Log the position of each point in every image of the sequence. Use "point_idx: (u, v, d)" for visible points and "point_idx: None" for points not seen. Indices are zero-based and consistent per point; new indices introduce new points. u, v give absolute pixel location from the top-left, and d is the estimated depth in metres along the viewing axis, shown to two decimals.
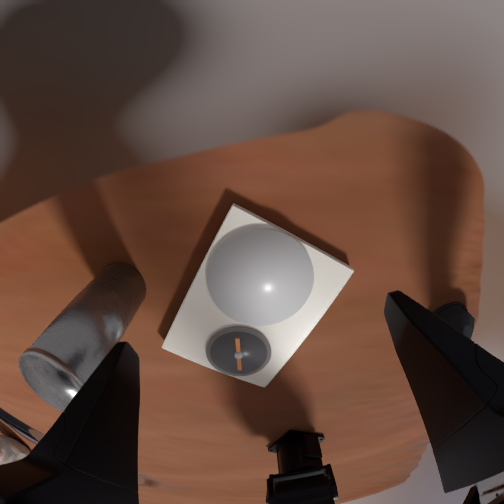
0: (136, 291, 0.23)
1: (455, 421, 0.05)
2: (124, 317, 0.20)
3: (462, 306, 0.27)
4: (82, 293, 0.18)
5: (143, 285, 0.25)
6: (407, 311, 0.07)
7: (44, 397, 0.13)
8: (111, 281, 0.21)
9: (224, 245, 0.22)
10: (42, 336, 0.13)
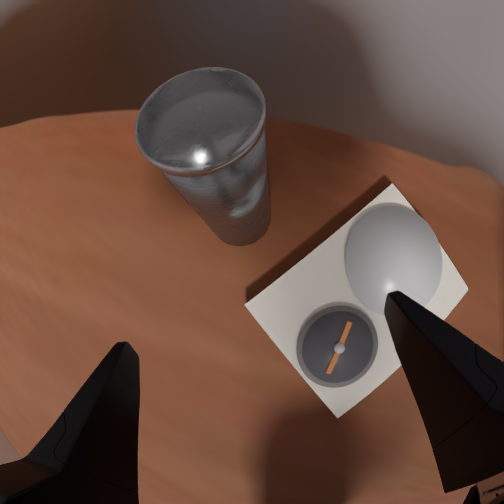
0: (269, 211, 0.21)
1: (455, 421, 0.05)
2: (266, 201, 0.17)
3: None
4: None
5: (269, 222, 0.23)
6: (407, 311, 0.07)
7: (147, 133, 0.10)
8: None
9: (378, 209, 0.21)
10: None
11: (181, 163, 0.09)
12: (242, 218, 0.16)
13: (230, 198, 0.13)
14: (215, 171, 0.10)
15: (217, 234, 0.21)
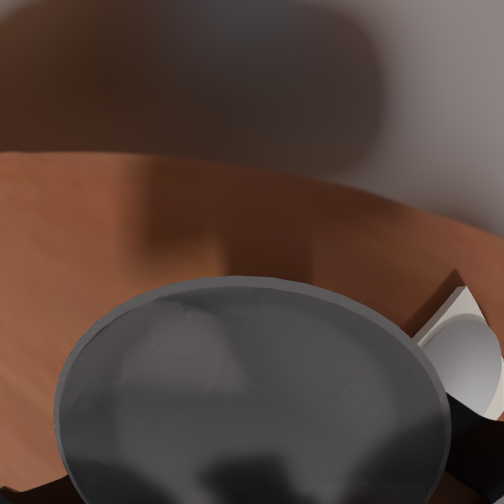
0: None
1: None
2: None
3: None
4: None
5: None
6: None
7: None
8: None
9: (449, 329, 0.14)
10: None
11: None
12: None
13: None
14: None
15: None
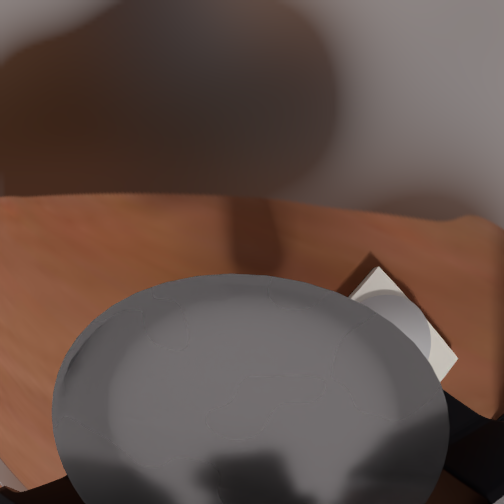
0: None
1: None
2: None
3: None
4: None
5: None
6: None
7: (105, 503, 0.02)
8: None
9: (362, 303, 0.20)
10: None
11: None
12: None
13: None
14: None
15: None
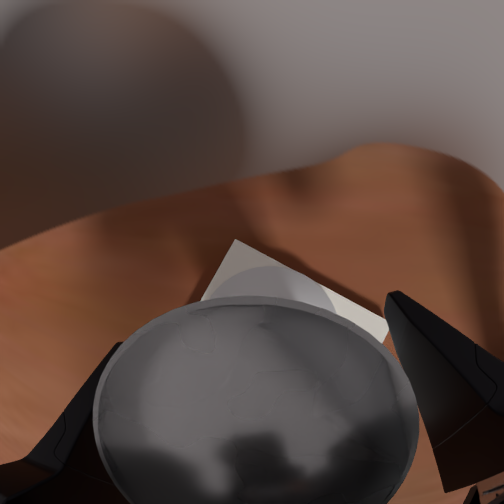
0: None
1: (455, 421, 0.05)
2: None
3: None
4: None
5: None
6: (407, 311, 0.07)
7: (137, 484, 0.03)
8: None
9: (222, 286, 0.18)
10: None
11: None
12: None
13: None
14: None
15: None
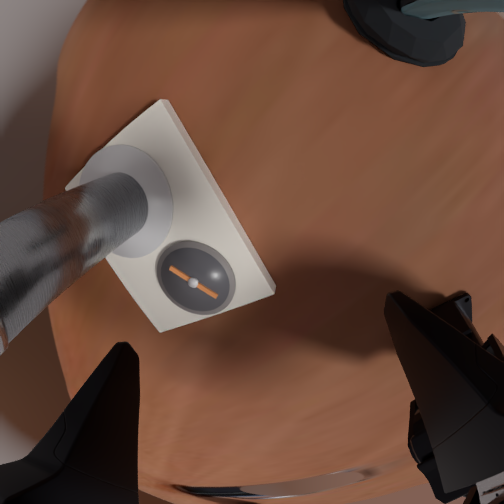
0: (117, 186, 0.16)
1: (455, 421, 0.05)
2: (87, 208, 0.13)
3: None
4: None
5: (135, 183, 0.18)
6: (407, 311, 0.07)
7: None
8: None
9: None
10: None
11: None
12: (86, 251, 0.13)
13: (42, 287, 0.10)
14: (2, 327, 0.07)
15: None
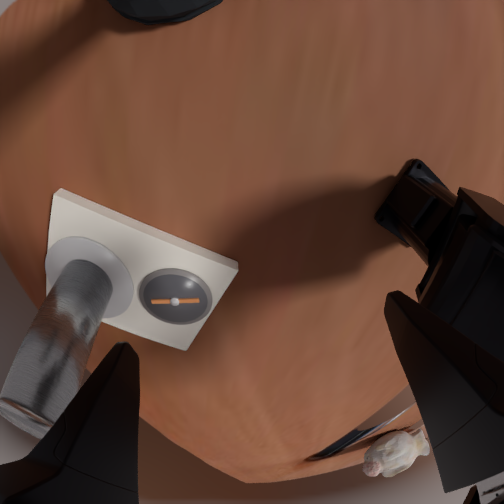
0: (71, 276, 0.18)
1: (455, 421, 0.05)
2: (59, 309, 0.15)
3: None
4: None
5: (83, 262, 0.20)
6: (407, 311, 0.07)
7: None
8: None
9: None
10: None
11: None
12: (76, 338, 0.15)
13: (63, 383, 0.12)
14: None
15: (103, 314, 0.20)
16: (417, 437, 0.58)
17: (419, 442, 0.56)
